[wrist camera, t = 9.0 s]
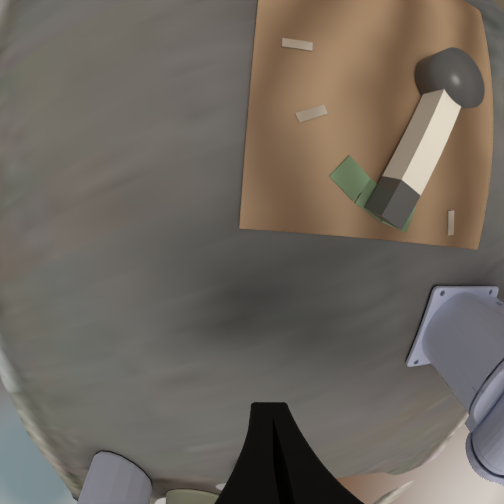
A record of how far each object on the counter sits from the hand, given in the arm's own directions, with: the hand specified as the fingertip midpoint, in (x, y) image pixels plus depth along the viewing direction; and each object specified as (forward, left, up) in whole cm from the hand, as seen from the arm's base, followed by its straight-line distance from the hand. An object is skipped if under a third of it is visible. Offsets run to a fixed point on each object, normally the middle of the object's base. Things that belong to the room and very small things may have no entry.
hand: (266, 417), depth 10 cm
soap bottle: (+16, +30, -10) cm, 35 cm away
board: (-8, -17, -10) cm, 21 cm away
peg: (-9, -13, -9) cm, 18 cm away
